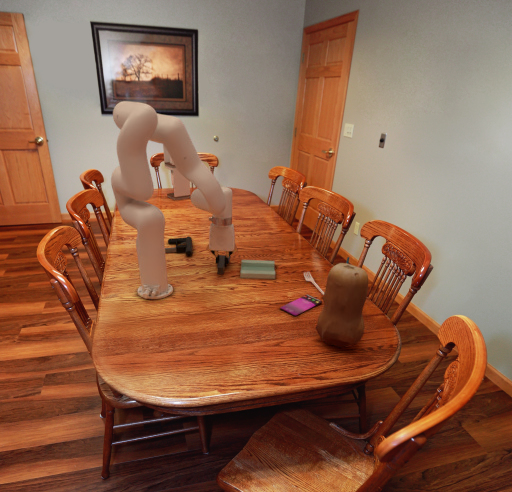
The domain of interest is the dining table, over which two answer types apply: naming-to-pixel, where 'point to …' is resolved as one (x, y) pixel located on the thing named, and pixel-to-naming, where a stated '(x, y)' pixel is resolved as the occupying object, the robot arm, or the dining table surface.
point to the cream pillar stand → (176, 179)
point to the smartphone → (301, 305)
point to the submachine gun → (181, 248)
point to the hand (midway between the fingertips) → (222, 265)
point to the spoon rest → (257, 269)
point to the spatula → (222, 264)
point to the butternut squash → (343, 306)
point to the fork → (312, 281)
